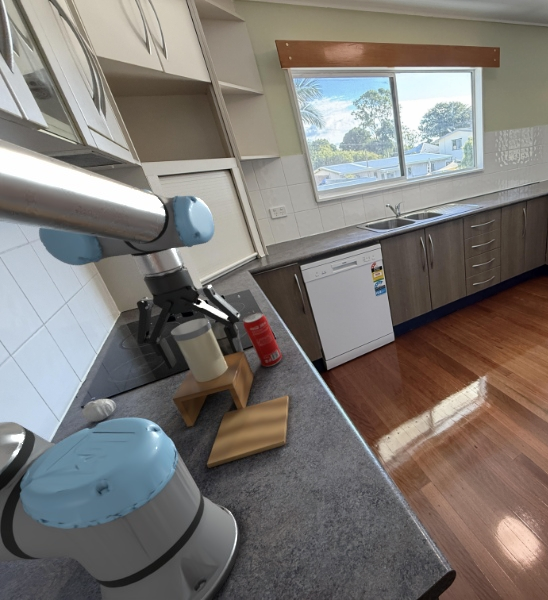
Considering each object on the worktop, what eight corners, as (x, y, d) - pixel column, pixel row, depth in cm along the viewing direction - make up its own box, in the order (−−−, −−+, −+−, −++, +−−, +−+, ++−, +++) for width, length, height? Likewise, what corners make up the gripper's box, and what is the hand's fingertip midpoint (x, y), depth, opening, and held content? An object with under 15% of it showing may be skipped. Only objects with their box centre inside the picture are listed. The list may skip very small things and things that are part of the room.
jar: (224, 377, 71) (203, 329, 66) (189, 386, 69) (164, 338, 64) (231, 360, 78) (212, 315, 72) (199, 368, 76) (178, 323, 71)
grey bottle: (218, 375, 87) (189, 311, 78) (237, 360, 93) (212, 299, 85) (239, 377, 84) (211, 311, 76) (257, 361, 90) (233, 299, 82)
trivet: (285, 444, 61) (284, 440, 61) (208, 468, 58) (206, 464, 58) (289, 398, 74) (287, 395, 73) (226, 416, 71) (224, 412, 70)
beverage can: (285, 354, 92) (270, 309, 86) (275, 368, 86) (258, 320, 80) (266, 355, 93) (250, 311, 87) (255, 369, 87) (237, 322, 81)
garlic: (86, 430, 73) (74, 413, 71) (89, 418, 77) (77, 401, 75) (118, 416, 76) (107, 399, 74) (119, 405, 80) (109, 389, 78)
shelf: (244, 411, 72) (232, 383, 68) (187, 427, 69) (172, 399, 66) (253, 375, 84) (243, 350, 81) (205, 388, 82) (193, 363, 79)
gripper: (233, 254, 69) (263, 336, 78) (105, 278, 64) (152, 362, 73) (225, 262, 62) (259, 351, 71) (81, 290, 57) (137, 382, 66)
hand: (205, 357), depth 72 cm, fingers open, 13 cm apart
